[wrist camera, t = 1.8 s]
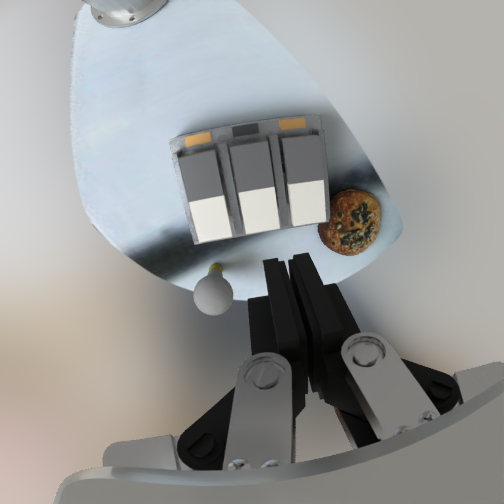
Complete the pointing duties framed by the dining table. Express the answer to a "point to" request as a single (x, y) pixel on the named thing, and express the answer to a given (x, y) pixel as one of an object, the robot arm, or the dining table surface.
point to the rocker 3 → (304, 179)
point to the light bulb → (213, 292)
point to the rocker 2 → (255, 186)
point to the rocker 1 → (206, 195)
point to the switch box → (221, 143)
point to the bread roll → (351, 222)
